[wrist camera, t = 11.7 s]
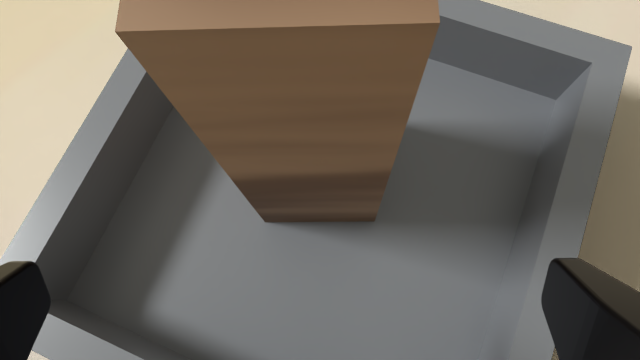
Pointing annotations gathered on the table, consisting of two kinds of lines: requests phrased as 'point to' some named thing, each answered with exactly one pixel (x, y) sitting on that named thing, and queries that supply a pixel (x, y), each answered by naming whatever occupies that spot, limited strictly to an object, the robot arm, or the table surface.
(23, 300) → the robot arm
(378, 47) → the brown tall block
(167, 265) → the box
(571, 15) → the table surface
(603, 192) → the table surface
